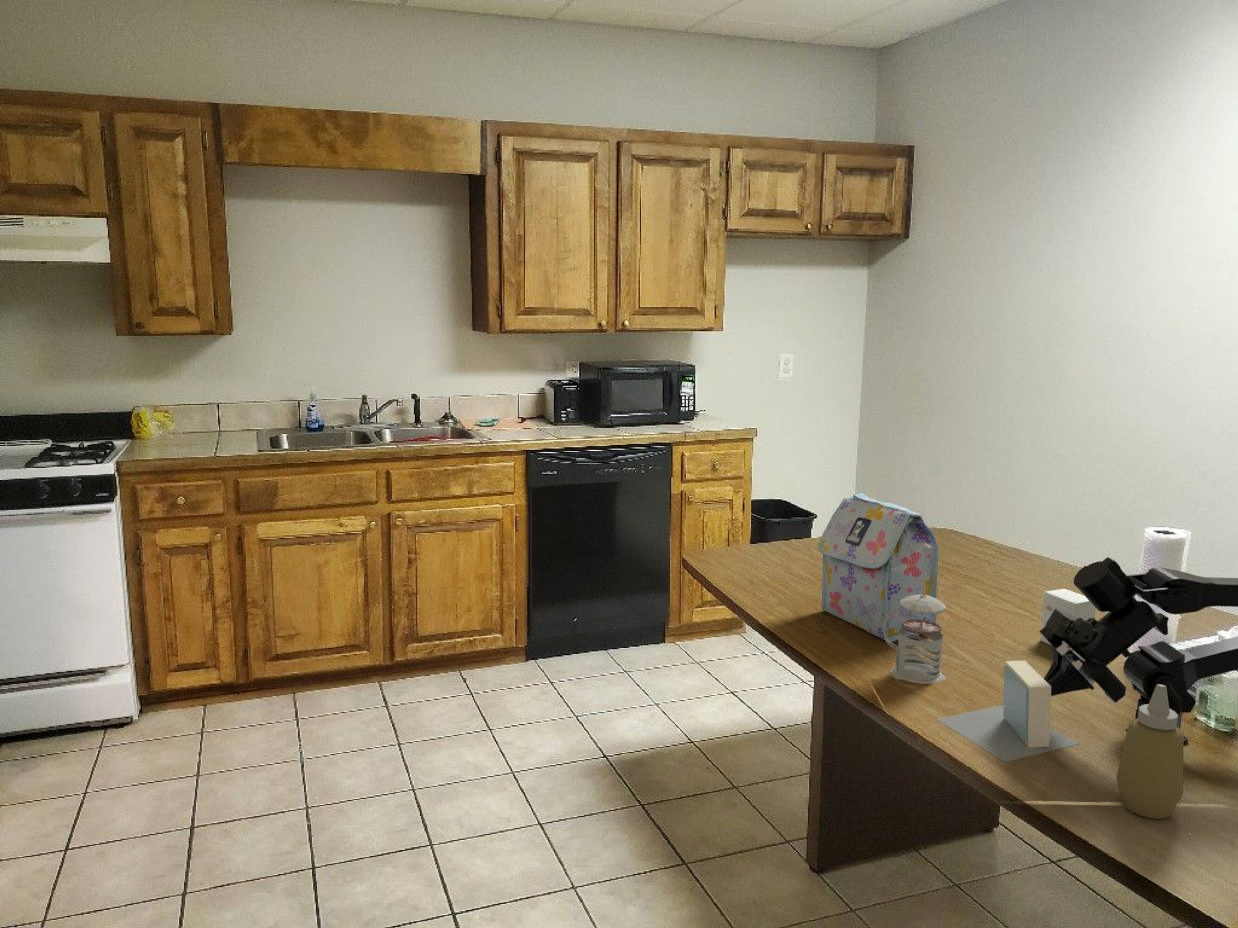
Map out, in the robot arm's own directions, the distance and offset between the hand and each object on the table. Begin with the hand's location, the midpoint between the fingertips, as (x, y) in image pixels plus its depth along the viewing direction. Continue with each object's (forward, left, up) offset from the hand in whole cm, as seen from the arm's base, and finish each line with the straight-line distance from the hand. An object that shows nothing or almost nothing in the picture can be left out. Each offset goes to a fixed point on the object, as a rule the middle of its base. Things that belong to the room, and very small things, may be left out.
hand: (1038, 695), depth 148 cm
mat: (+4, -2, -7) cm, 8 cm away
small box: (-36, -26, -7) cm, 45 cm away
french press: (+2, -26, -7) cm, 27 cm away
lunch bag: (-8, -51, -7) cm, 52 cm away
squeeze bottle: (+2, +22, -7) cm, 23 cm away
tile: (+1, -1, -6) cm, 7 cm away
